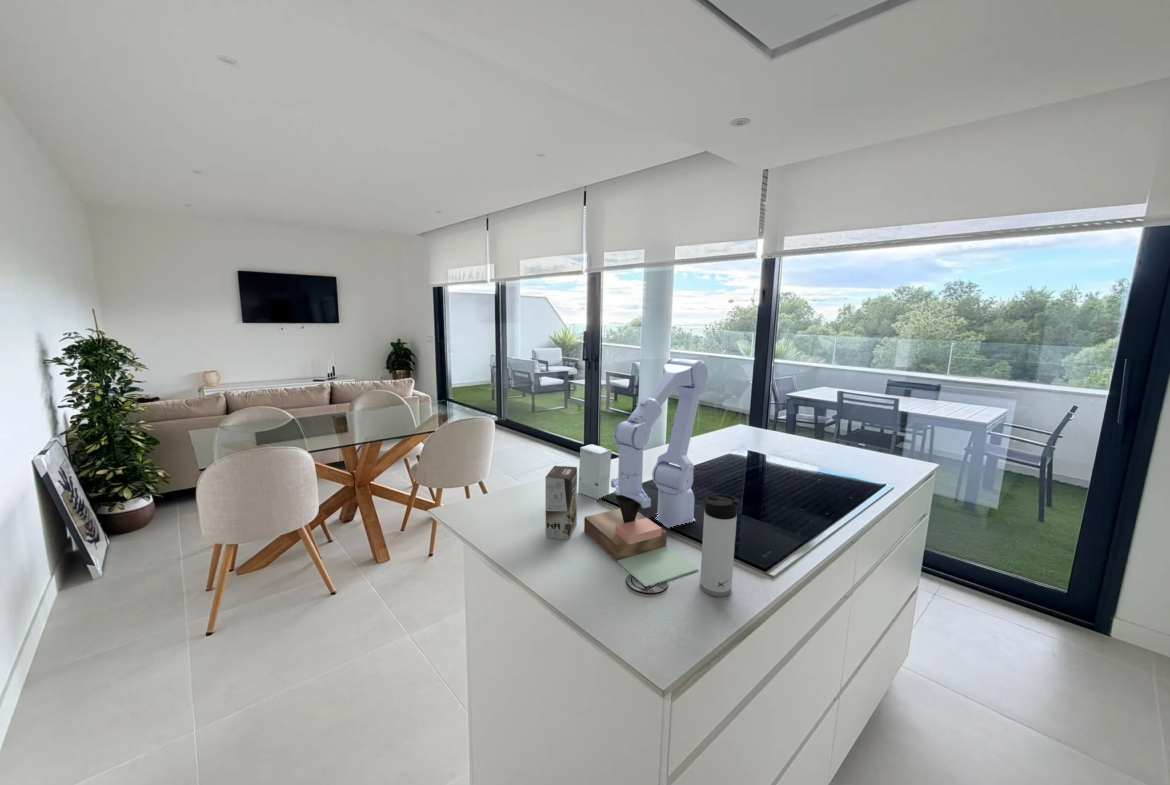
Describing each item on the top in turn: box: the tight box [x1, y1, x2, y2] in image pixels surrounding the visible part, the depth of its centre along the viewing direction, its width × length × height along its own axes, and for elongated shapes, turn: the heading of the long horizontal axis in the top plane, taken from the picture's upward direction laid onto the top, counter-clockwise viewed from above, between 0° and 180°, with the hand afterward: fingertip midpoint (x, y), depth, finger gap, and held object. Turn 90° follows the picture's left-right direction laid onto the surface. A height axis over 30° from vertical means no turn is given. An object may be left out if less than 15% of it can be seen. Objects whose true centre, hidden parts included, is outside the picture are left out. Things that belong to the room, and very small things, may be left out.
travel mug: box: [699, 494, 741, 598], centre depth 93 cm, size 6×7×20 cm
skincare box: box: [577, 444, 612, 500], centre depth 140 cm, size 8×6×15 cm
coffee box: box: [545, 465, 578, 541], centre depth 117 cm, size 9×6×16 cm
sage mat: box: [617, 545, 699, 586], centre depth 102 cm, size 14×11×1 cm
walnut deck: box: [583, 508, 668, 562], centre depth 114 cm, size 14×16×4 cm
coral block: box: [615, 517, 663, 545], centre depth 108 cm, size 9×6×2 cm, turn 117°
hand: (628, 524), depth 111 cm, fingers closed
